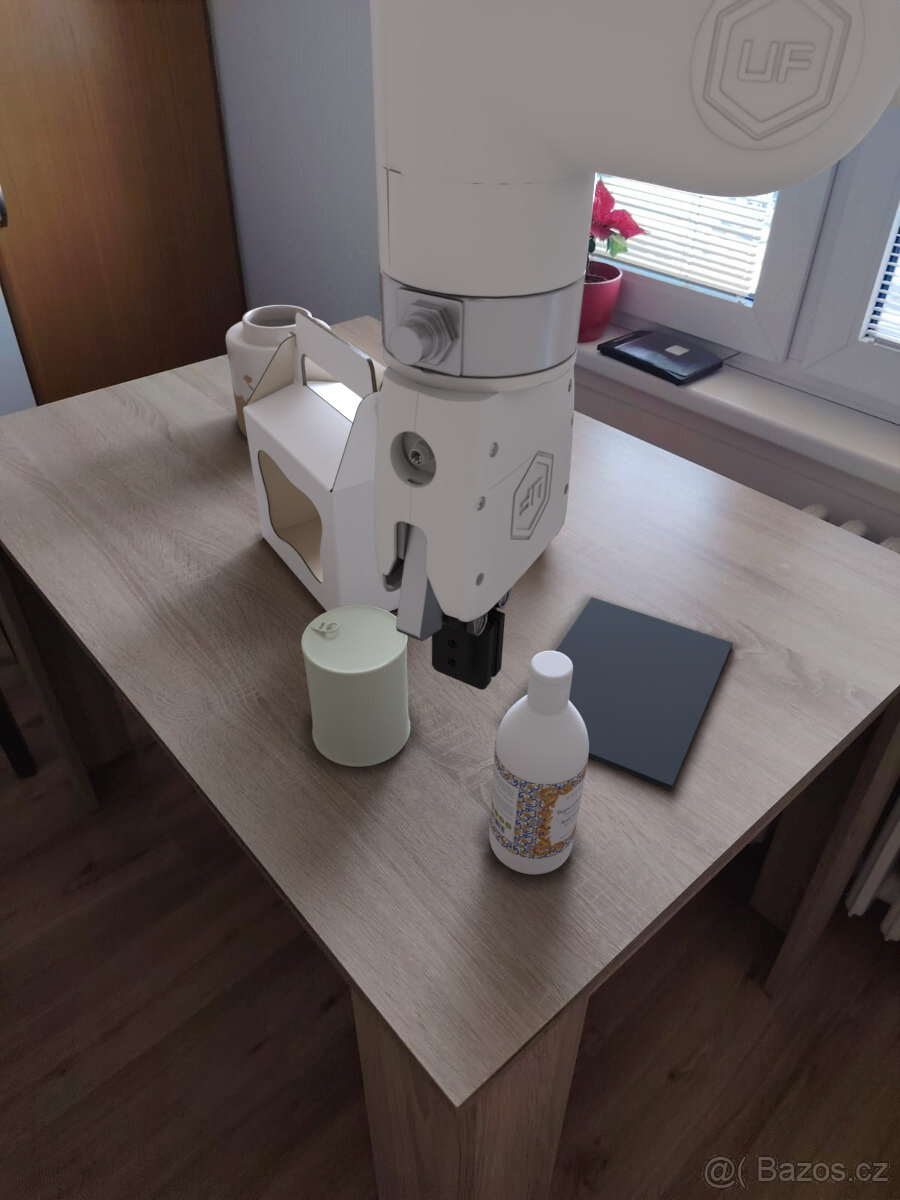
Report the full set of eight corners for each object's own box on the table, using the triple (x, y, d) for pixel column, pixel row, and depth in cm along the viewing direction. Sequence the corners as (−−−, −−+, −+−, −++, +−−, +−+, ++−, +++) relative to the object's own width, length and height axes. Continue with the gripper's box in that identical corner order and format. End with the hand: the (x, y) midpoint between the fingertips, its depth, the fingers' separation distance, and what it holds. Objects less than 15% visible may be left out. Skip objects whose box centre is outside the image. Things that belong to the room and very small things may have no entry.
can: (341, 684, 83) (333, 590, 75) (426, 711, 80) (425, 615, 73) (294, 749, 76) (279, 652, 69) (384, 780, 73) (378, 682, 66)
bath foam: (534, 894, 65) (558, 716, 52) (471, 839, 69) (480, 662, 56) (589, 842, 69) (624, 665, 56) (526, 793, 72) (546, 618, 60)
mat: (671, 790, 73) (672, 786, 73) (507, 724, 79) (508, 720, 78) (731, 646, 88) (733, 642, 88) (591, 600, 94) (591, 596, 94)
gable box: (445, 592, 95) (448, 357, 78) (343, 632, 89) (322, 387, 72) (354, 505, 109) (339, 291, 92) (261, 535, 104) (226, 312, 86)
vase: (288, 394, 136) (277, 291, 126) (359, 419, 130) (352, 312, 119) (218, 427, 127) (199, 319, 116) (290, 456, 120) (276, 344, 109)
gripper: (468, 413, 25) (455, 802, 36) (644, 281, 35) (590, 617, 46) (273, 359, 28) (318, 735, 39) (487, 252, 38) (473, 575, 49)
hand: (466, 670), depth 42 cm, fingers closed
